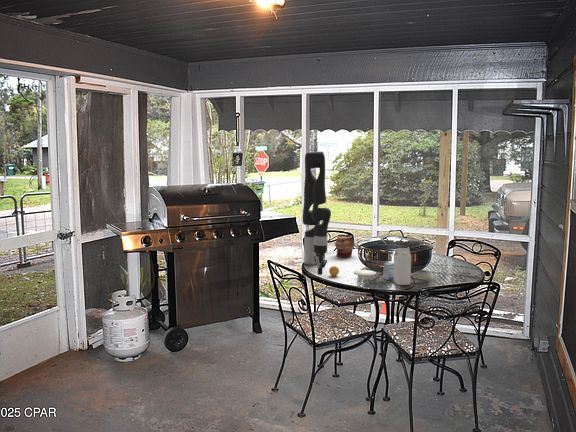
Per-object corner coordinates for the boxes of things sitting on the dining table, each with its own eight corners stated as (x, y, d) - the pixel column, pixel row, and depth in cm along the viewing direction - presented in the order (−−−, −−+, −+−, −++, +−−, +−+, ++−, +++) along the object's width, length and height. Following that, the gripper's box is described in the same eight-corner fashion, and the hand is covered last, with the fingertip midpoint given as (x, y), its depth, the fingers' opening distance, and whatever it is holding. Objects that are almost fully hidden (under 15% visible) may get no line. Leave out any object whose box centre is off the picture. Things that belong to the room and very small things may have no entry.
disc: (349, 271, 292) (349, 270, 292) (368, 269, 297) (368, 269, 297) (360, 276, 280) (360, 276, 280) (380, 274, 285) (380, 274, 285)
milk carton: (393, 281, 271) (394, 247, 268) (405, 281, 272) (407, 247, 269) (397, 285, 264) (398, 249, 261) (410, 284, 265) (411, 249, 262)
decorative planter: (339, 252, 346) (340, 232, 344) (356, 253, 342) (357, 233, 340) (331, 257, 328) (332, 237, 326) (349, 259, 323) (350, 238, 321)
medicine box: (387, 280, 273) (388, 264, 272) (382, 278, 277) (383, 263, 276) (399, 278, 277) (399, 263, 276) (393, 277, 281) (394, 261, 280)
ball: (327, 275, 283) (327, 265, 282) (336, 274, 285) (336, 264, 284) (331, 277, 278) (332, 267, 277) (340, 276, 280) (341, 266, 279)
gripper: (309, 242, 280) (308, 272, 283) (319, 246, 268) (318, 277, 270) (321, 241, 283) (320, 271, 285) (332, 245, 271) (331, 276, 273)
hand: (319, 274), depth 278 cm, fingers closed
